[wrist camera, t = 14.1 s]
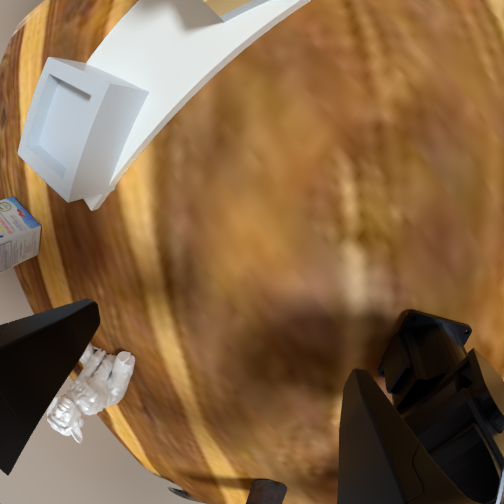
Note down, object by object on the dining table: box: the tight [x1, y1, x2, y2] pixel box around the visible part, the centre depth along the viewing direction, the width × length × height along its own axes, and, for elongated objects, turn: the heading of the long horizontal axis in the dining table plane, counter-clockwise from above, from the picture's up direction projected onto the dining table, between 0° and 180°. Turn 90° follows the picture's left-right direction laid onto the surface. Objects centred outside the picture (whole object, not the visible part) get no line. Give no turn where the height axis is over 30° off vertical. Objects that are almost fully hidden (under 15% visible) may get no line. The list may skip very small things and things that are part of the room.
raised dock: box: [18, 57, 149, 203], centre depth 19 cm, size 9×9×6 cm
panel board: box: [83, 0, 311, 211], centre depth 17 cm, size 30×11×1 cm, turn 130°
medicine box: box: [0, 197, 41, 273], centre depth 25 cm, size 8×4×9 cm, turn 60°
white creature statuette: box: [47, 342, 135, 443], centre depth 26 cm, size 10×9×12 cm
